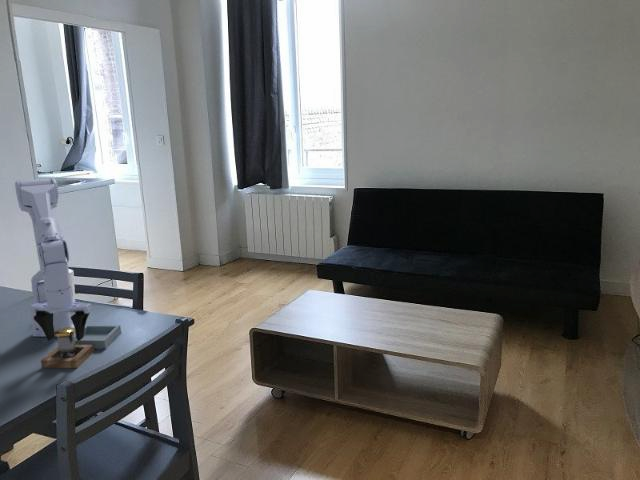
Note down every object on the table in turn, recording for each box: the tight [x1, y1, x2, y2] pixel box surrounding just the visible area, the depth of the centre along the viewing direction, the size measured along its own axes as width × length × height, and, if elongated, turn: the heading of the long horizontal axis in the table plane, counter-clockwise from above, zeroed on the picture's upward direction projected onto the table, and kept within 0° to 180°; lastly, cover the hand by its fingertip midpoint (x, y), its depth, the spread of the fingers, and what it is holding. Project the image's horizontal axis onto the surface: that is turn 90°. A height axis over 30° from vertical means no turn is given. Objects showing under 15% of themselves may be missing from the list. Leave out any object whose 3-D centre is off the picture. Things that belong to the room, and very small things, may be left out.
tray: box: [74, 324, 122, 350], centre depth 146 cm, size 10×10×2 cm
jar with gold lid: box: [55, 327, 77, 358], centre depth 135 cm, size 5×5×8 cm
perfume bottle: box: [68, 268, 76, 302], centre depth 169 cm, size 5×4×15 cm
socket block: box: [40, 345, 95, 369], centre depth 135 cm, size 9×9×2 cm
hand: (65, 338), depth 134 cm, fingers open, 7 cm apart
